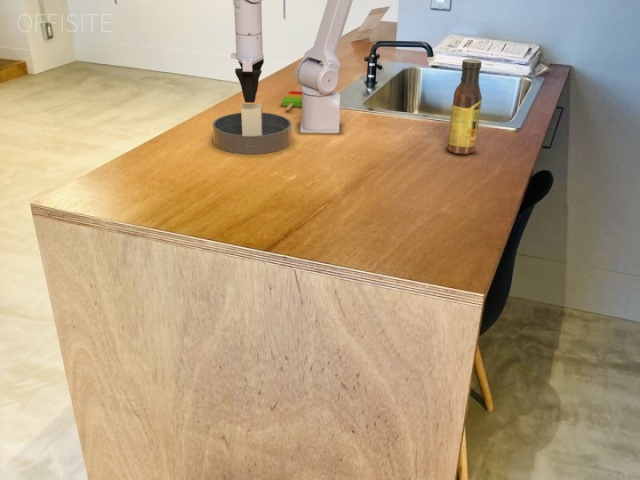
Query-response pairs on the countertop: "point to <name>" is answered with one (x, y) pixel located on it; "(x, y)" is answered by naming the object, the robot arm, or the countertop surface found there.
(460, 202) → the countertop surface
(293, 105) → the popsicle
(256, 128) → the cream block
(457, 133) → the sauce bottle
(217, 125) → the steel cake pan
